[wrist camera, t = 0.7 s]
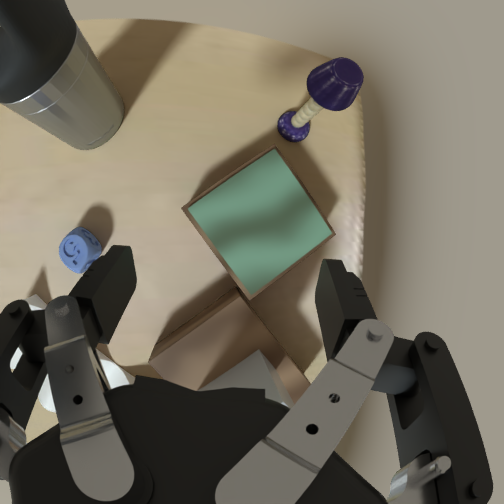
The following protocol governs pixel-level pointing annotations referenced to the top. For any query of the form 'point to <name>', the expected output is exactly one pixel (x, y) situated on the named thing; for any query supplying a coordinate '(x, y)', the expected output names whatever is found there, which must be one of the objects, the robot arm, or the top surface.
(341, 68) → the toy lamp
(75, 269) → the decorative dice
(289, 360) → the brown wooden flat slab
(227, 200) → the plinth
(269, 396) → the block
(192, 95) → the top surface
